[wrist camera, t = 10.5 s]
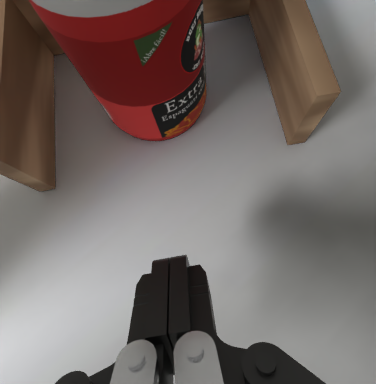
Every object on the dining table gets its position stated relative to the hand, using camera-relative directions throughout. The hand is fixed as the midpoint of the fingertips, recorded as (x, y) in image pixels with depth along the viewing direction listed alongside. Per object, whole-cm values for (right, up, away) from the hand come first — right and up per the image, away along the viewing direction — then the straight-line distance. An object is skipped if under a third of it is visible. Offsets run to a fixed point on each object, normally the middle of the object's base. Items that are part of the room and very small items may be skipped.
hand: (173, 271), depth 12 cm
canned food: (-2, +11, +9) cm, 14 cm away
